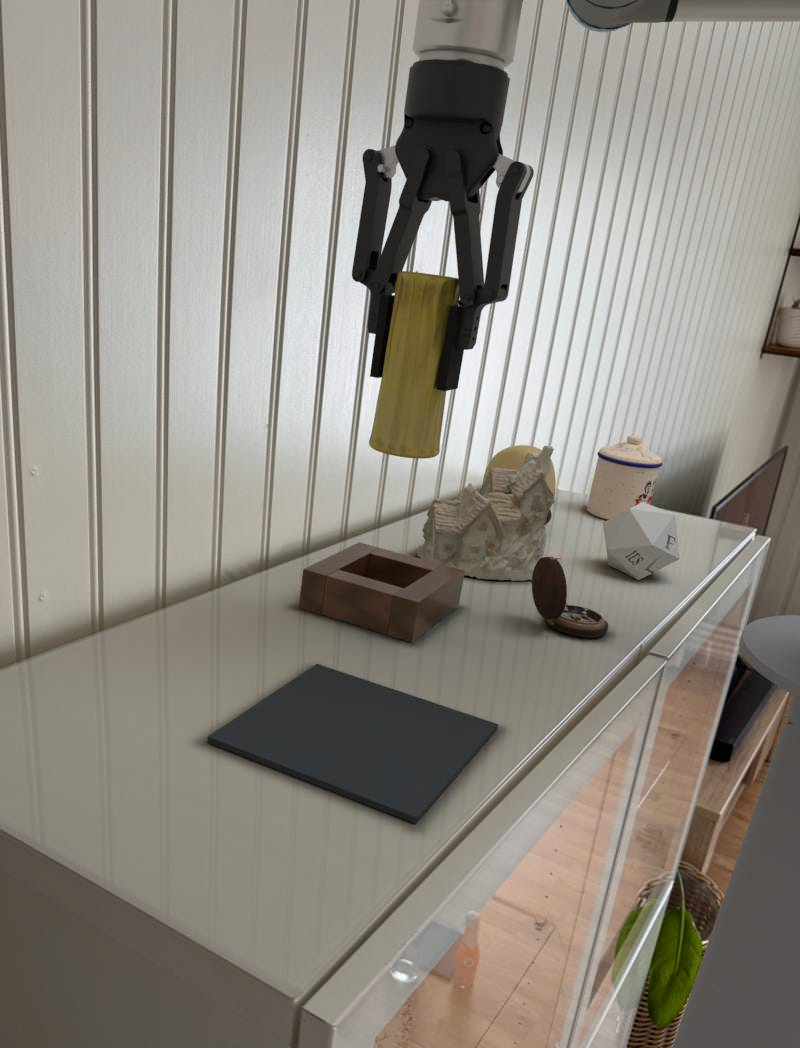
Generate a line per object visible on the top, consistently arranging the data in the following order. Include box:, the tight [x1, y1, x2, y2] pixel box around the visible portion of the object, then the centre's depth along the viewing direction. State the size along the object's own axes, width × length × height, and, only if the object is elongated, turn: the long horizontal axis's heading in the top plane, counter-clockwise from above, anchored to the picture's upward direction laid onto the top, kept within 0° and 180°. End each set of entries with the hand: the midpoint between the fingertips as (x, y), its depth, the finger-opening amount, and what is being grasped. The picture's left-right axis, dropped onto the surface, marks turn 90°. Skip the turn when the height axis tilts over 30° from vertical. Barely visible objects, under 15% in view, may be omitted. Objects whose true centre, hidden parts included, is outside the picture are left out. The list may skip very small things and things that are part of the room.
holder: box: [298, 541, 465, 644], centre depth 95 cm, size 12×12×4 cm
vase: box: [368, 270, 460, 459], centre depth 80 cm, size 6×6×14 cm
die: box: [602, 502, 681, 581], centre depth 115 cm, size 8×9×10 cm
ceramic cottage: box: [416, 445, 556, 582], centre depth 111 cm, size 16×16×15 cm
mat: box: [206, 663, 499, 825], centre depth 71 cm, size 16×16×1 cm
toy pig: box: [482, 444, 556, 527], centre depth 129 cm, size 10×12×11 cm
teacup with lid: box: [586, 434, 663, 521], centre depth 140 cm, size 12×9×12 cm
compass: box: [531, 556, 609, 639], centre depth 96 cm, size 8×8×7 cm
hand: (413, 381), depth 81 cm, fingers closed on vase, 5 cm apart
